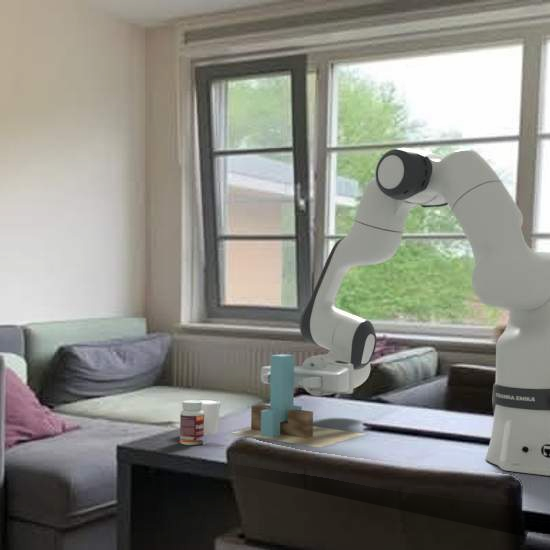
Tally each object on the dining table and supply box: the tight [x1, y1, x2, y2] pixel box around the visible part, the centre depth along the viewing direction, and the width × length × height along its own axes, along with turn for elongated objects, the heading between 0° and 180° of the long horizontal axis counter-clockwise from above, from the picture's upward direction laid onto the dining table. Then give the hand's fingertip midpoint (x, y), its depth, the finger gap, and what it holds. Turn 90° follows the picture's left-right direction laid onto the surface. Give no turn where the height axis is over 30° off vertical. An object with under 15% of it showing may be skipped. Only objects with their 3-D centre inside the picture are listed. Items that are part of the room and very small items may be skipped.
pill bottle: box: [179, 399, 205, 446], centre depth 158 cm, size 5×5×8 cm
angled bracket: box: [261, 353, 303, 438], centre depth 162 cm, size 3×10×16 cm, turn 143°
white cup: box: [197, 399, 221, 437], centre depth 167 cm, size 7×7×7 cm
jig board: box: [231, 403, 367, 449], centre depth 162 cm, size 22×17×6 cm
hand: (282, 381), depth 162 cm, fingers open, 8 cm apart
